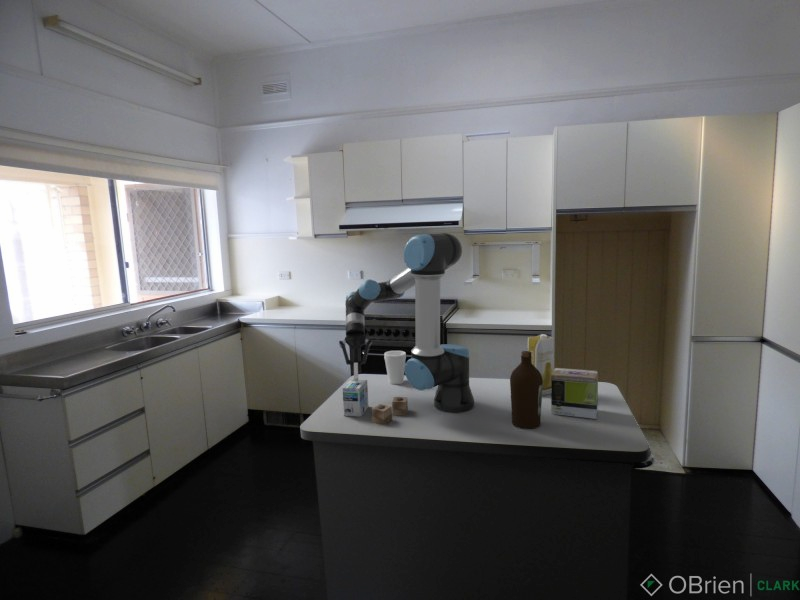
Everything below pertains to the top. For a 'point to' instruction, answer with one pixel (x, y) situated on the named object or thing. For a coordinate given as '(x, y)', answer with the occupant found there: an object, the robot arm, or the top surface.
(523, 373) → the olive oil
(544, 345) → the juice carton
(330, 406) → the top surface
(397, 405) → the walnut cube
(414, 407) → the top surface
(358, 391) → the light bulb box
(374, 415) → the walnut cube
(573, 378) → the tea box
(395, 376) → the foam cup
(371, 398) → the top surface
